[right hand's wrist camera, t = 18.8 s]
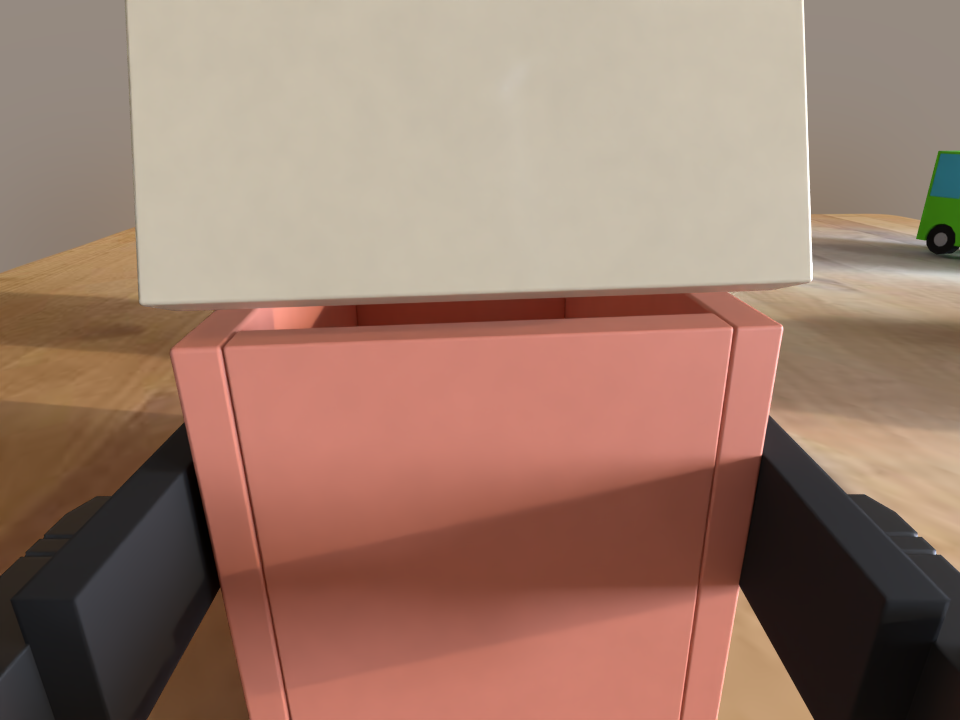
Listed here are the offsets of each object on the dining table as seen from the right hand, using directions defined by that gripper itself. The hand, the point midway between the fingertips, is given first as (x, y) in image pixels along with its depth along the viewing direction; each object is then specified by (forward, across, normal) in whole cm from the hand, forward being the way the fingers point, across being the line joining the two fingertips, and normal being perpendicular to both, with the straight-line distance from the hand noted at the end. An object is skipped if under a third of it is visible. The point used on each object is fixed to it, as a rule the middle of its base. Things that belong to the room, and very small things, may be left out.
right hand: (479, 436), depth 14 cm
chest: (+3, 0, -6) cm, 7 cm away
